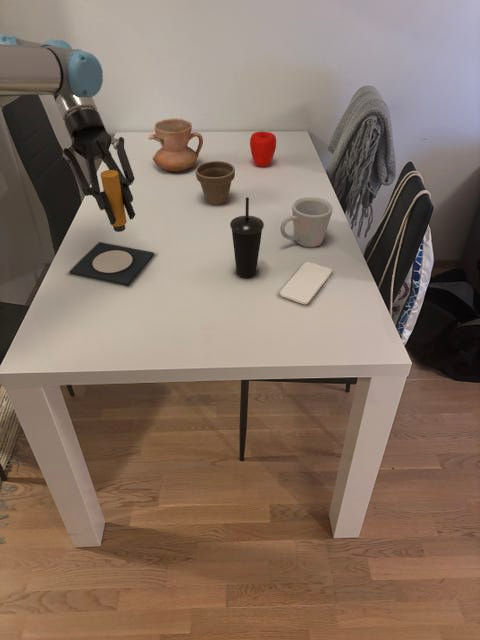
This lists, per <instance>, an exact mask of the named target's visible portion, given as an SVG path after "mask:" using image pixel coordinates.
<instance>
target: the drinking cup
mask: <svg viewBox="0 0 480 640" xmlns="http://www.w3.org/2000/svg"><path fill="white" fill-rule="evenodd" d="M249 209H250V198H249V197H245V215H239V216H236V217H234V218H233V219H231V221H230V222H229V227H230V229H231V235H232V243H233V244H232V245H233V254H234V262H235V268H236V269H235V270H236V275H237V276H238V277H240V278H242V279H251V278H254V277H255V276H256V274H257V270H258V263H259V255H260V248H261V240H262V233H263V229H264V226H265V224H264V221H263V220H262V218H259V217H257V216H255V215H249V213H250V212H249V211H250V210H249Z"/></svg>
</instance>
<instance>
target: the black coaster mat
mask: <svg viewBox="0 0 480 640" xmlns="http://www.w3.org/2000/svg"><path fill="white" fill-rule="evenodd" d="M154 256H155V252H153V251H148V250H143V249H138V248H133V247H127V246H121V245H118V244H117V245H116V244H113V243H106V242H101V241H99V242H98V243H96V244H95V245H94V246H93V247H92V248H91V250H89V251H88V253H86V254H85V255H84V256H83V257H82V258H81V259H80V260H79V261H78V262H77V263H76V264H75V265H74V266H73V267H72V268H71V269H70V270H69V274H70V275H74V276H79V277H82V278H88V279H92V280H98V281H102V282H106V283H112V284H117V285H122V286H126V287H129V286H130V285H131V284H132V282H133V281H134V280H135V279H136V278H137V277H138V275H139V274H140V273H141V272H142V271H143V269H144V268H145V267H146V266H147V264H148V263H149V262H150V260H151V259H153V257H154Z"/></svg>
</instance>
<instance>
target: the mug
mask: <svg viewBox="0 0 480 640" xmlns="http://www.w3.org/2000/svg"><path fill="white" fill-rule="evenodd" d="M333 208H334V207H333V204H331V203H330V202H329V201H328V200H325V199H323V198H320V197H312V196H311V197H310V196H308V197H307V196H306V197H302V198H298V199H296V200H295V201H293V202H292V205H291V213H292V215H289V216H287V217H286V218H284V219H283V220H282V222H281V224H280V226H279V229H280V233H281V236H282V237H283V238H285V239H287V240H291V241H295V242H296V243H297V244H298V245H300V246H302V247H305V248H306V247H307V248H314V247H318V246H320V245H322V243H323V242H324V239H325V236H326V233H327V229H328V226H329V223H330V220H331V217H332V213H333V210H334V209H333ZM289 222H292V224H293V235H291V234H288V232H286V229H285V228H286V226H287V224H288V223H289Z"/></svg>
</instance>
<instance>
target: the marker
mask: <svg viewBox="0 0 480 640" xmlns="http://www.w3.org/2000/svg"><path fill="white" fill-rule="evenodd" d="M100 179H101V184H102V189H103V191H105V193H106V196H107V198H108V201H109V203H110V206H111V208H112V211H113V213H114V215H115V218H116V222H115V224H113V225H111V223H110V222H109V224H110V225H111V226H112V227H113V231H114V232H117V233H121V232H124V231H125V230H126V228H127V227H126V224H127V222H128V221H127V215H126V214H127V213H126V209H125V206H124V203H123V197H122V191H121V185H120V180H119V174H118V172H117V171H115V170H109V169H107V170H103V171H102V172H100Z"/></svg>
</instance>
